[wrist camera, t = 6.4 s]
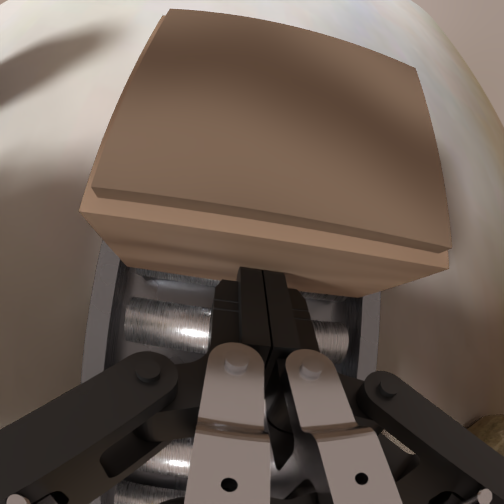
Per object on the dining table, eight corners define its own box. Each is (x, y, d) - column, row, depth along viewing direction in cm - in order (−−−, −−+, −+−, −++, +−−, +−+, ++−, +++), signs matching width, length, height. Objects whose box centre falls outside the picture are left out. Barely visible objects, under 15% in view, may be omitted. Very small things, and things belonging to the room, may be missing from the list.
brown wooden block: (358, 297, 14) (462, 263, 8) (127, 266, 13) (70, 201, 6) (356, 146, 16) (421, 65, 10) (166, 110, 15) (162, 3, 8)
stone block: (481, 406, 17) (531, 410, 12) (488, 502, 15) (526, 515, 10) (428, 450, 16) (479, 468, 11) (441, 543, 14) (478, 564, 9)
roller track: (322, 530, 13) (375, 591, 7) (97, 515, 12) (60, 583, 5) (353, 154, 20) (408, 88, 13) (154, 118, 18) (144, 31, 12)
